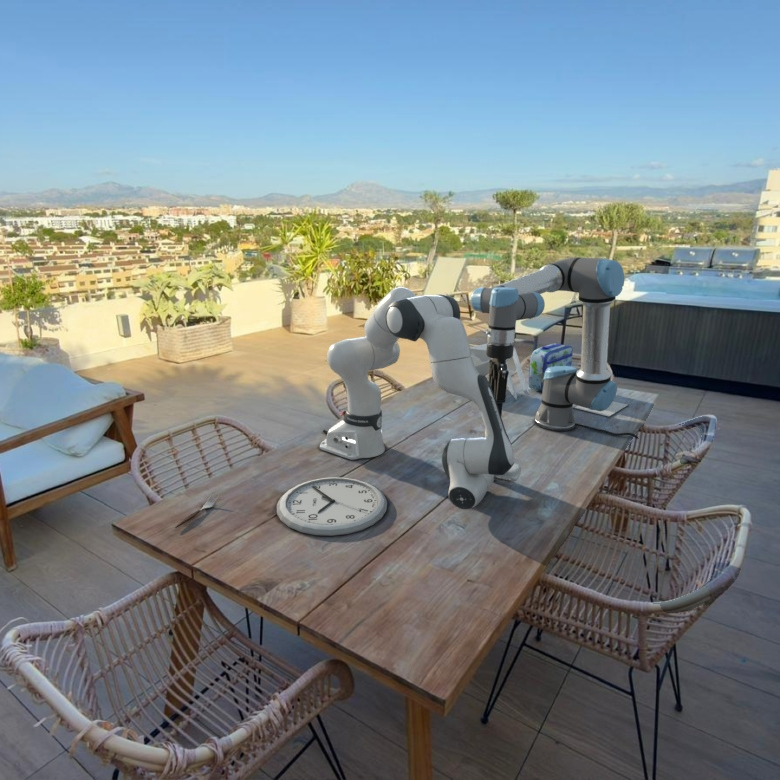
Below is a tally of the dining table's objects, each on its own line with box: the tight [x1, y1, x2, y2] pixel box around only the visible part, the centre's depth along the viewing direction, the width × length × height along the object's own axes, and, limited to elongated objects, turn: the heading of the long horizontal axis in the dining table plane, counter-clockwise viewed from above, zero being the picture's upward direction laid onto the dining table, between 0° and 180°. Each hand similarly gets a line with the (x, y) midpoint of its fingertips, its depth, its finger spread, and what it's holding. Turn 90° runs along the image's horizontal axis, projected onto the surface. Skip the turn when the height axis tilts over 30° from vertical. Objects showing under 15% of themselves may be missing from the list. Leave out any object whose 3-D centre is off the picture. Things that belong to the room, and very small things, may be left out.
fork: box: [174, 492, 220, 529], centre depth 137 cm, size 3×16×2 cm, turn 160°
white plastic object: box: [470, 342, 531, 400], centre depth 245 cm, size 37×45×31 cm
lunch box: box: [528, 343, 574, 392], centre depth 249 cm, size 26×11×21 cm, turn 134°
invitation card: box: [573, 400, 629, 418], centre depth 226 cm, size 21×1×15 cm
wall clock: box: [276, 476, 388, 537], centre depth 142 cm, size 30×2×30 cm
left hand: (491, 456), depth 160 cm, fingers closed on bottle, 5 cm apart
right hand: (494, 420), depth 155 cm, fingers closed on cap, 4 cm apart
